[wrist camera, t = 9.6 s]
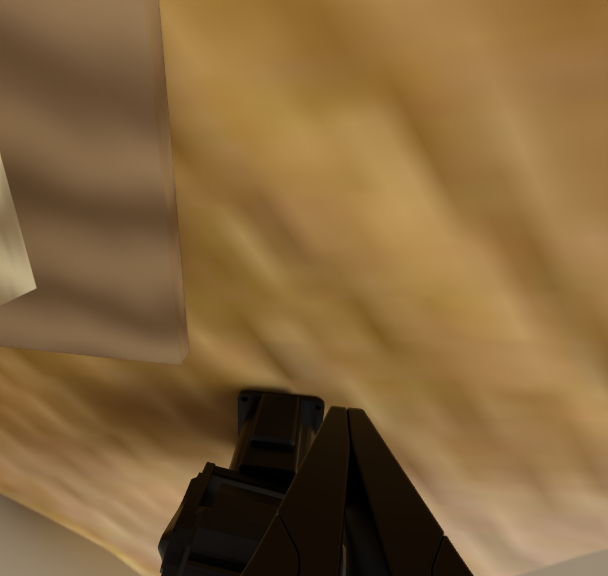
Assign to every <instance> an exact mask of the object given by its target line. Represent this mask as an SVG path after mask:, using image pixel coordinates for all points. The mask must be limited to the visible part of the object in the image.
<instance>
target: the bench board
mask: <svg viewBox="0 0 608 576" xmlns="http://www.w3.org/2000/svg"><path fill="white" fill-rule="evenodd" d="M0 155H1V159H2V162H3V166H4V170H5V174H6V177H7V181H8V185H9V188H10V192H11V196H12V199H13V203H14V207H15V210H16V214H17V218H18V222H19V225H20V229H21V233H22V236H23V240H24V244H25V247H26V251H27V255H28V259H29V262H30V266H31V270H32V273H33V277H34V281H35V284H36V289H34V290H32V291H30V292H28V293H26V294H23V295H21V296H19V297H17V298H15V299H13V300H11V301H9V302H7V303H5V304H3V305H0V346H2V347H11V348H21V349H30V350H40V351H49V352H59V353H69V354H78V355H88V356H97V357H107V358H116V359H126V360H135V361H145V362H154V363H164V364H174V365H181V364H182V362H183V361H184V359H185V358H186V356H187V355H188V353H189V348H188V336H187V324H186V312H185V301H184V289H183V277H182V266H181V254H180V242H179V231H178V219H177V207H176V196H175V184H174V172H173V161H172V149H171V137H170V126H169V114H168V102H167V91H166V79H165V67H164V55H163V44H162V32H161V20H160V9H159V0H0Z"/></svg>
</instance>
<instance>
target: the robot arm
mask: <svg viewBox="0 0 608 576" xmlns="http://www.w3.org/2000/svg"><path fill="white" fill-rule="evenodd" d="M244 397H247V398H244ZM316 405H320V406H316ZM324 406H325V404H324V401H323V400H322V399H319V398H311V397H302V396H293V395H283V394H274V393H265V392H255V391H246V390H245V391H241V392H240V394H239V396H238V436H239V439H238V442H237V445H236V448H235V452H234V455H233V458H232V461H231V464H230V467H229V469H226V468H222V467H218V466H215V464H214V463H210V462H207V463H206V465H205V468H204V470H203V472H202V473H200V472H199V474H198V476H197V477H196V478H193V479H191V482H190V484H189V486H188V489H187V491H186V493H185V496H184V498H183V500H182V502H181V505H180V506H179V508H178V510H177V512H176V513H175V515H174V517H173V518H172V520H171V521H170V523H169V525H168V526H167V528H166V530H165V531H164V533H163V535H162V537H161V539H160V542H159V545H158V550H159V553H160V556H161V559H162V565H161V569H160V573H162V574H161V576H474V575H473V574H472V573H471V571H470V570H469V568H468V567H467V565H466V564H465V562H464V561H463V560H462V558H461V557H460V555H459V554H458V552H457V551H456V549H455V548H454V546H453V545H452V543H451V541H450V540H449V538H448V537H447V536H444V531H443V530H442V528H441V527H440V525H439V524H438V522H437V520H436V519H435V517H434V516H433V514H432V513H431V511H430V510H429V508H428V507H427V505H426V504H425V502H424V501H423V499H422V498H421V496H420V495H419V493H418V492H417V490H416V489H415V487H414V486H413V484H412V483H411V481H410V480H409V478H408V477H407V475H406V474H405V472H404V470H403V469H402V467H401V466H400V464H399V463H398V461H397V460H396V458H395V457H394V455H393V454H392V452H391V451H390V449H389V448H388V446H387V445H386V443H385V442H384V440H383V439H382V437H381V436H380V434H379V433H378V431H377V430H376V428H375V427H374V425H373V424H372V422H371V420H370V419H369V417H368V416H367V414H366V413H365V411H364V410H362V409H358V408H348V409H346V408H345V407H339V406H331V407H330V409H329V411H328V413H327V415H326V417H325V418H324V420H323V416H324Z"/></svg>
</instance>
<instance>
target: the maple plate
mask: <svg viewBox="0 0 608 576" xmlns="http://www.w3.org/2000/svg"><path fill="white" fill-rule="evenodd" d="M34 289H36V284H35V281H34V277H33V273H32V270H31V266H30V262H29V259H28V255H27V251H26V247H25V244H24V240H23V236H22V233H21V229H20V225H19V222H18V218H17V214H16V210H15V207H14V203H13V199H12V196H11V192H10V188H9V185H8V181H7V177H6V174H5V170H4V166H3V162H2V159H1V155H0V305H3V304H5V303H7V302H9V301H11V300H13V299H15V298H17V297H19V296H21V295H23V294H26V293H28V292H30V291H32V290H34Z"/></svg>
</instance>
